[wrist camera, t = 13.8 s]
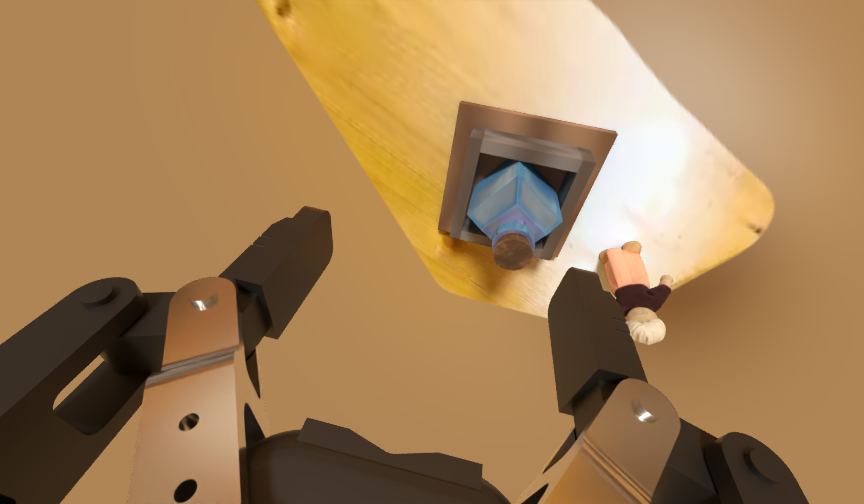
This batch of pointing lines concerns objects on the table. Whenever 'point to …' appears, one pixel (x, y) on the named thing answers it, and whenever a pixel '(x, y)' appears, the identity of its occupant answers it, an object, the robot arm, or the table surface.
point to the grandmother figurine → (636, 291)
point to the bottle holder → (529, 142)
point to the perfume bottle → (514, 211)
